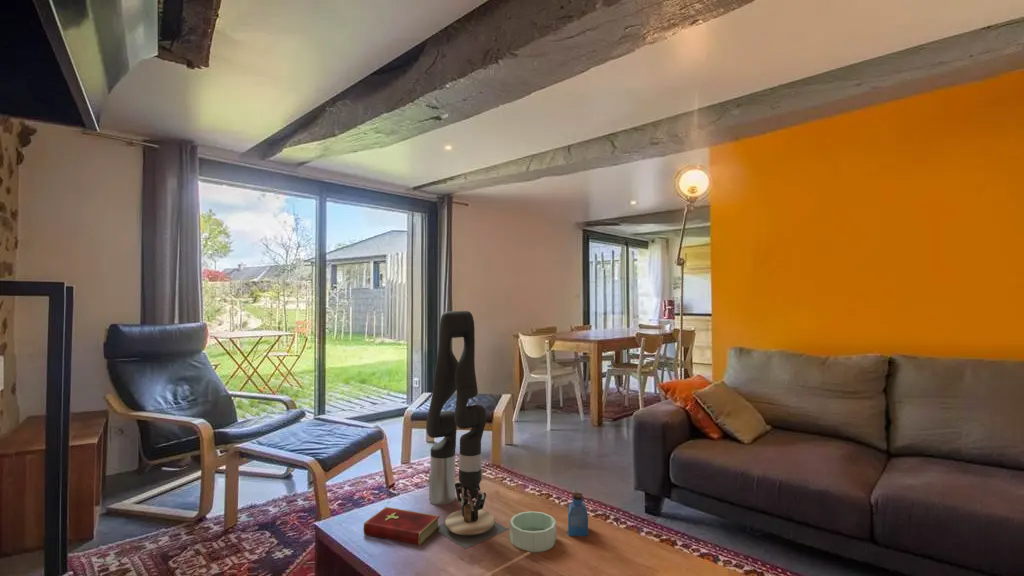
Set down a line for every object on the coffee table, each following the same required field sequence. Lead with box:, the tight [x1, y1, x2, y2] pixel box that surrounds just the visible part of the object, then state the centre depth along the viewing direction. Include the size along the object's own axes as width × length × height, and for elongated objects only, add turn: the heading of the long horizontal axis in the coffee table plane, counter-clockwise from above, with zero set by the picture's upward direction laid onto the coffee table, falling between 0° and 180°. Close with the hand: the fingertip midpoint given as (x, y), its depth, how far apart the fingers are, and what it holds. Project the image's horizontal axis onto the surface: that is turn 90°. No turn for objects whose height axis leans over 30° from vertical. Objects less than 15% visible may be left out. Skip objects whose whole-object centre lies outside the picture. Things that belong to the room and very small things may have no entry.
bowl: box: [509, 510, 557, 554], centre depth 150 cm, size 14×14×6 cm
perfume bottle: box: [567, 492, 589, 537], centre depth 156 cm, size 6×6×12 cm
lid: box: [444, 503, 495, 535], centre depth 157 cm, size 16×16×6 cm
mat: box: [436, 521, 509, 550], centre depth 157 cm, size 18×18×1 cm
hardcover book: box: [363, 506, 440, 547], centre depth 155 cm, size 12×21×4 cm, turn 69°
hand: (469, 518), depth 157 cm, fingers closed on lid, 4 cm apart
